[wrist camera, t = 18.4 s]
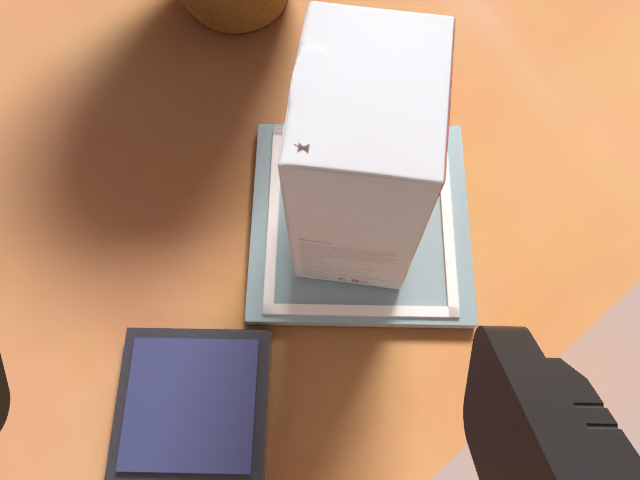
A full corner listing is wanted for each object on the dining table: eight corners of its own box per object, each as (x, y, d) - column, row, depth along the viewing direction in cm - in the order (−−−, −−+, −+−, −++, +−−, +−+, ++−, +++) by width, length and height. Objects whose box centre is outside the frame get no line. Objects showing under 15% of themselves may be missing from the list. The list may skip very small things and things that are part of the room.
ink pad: (110, 483, 29) (101, 484, 28) (132, 331, 32) (125, 326, 31) (264, 487, 29) (261, 487, 28) (272, 333, 32) (270, 328, 31)
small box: (401, 292, 32) (447, 186, 20) (291, 278, 33) (271, 166, 21) (412, 168, 35) (458, 12, 23) (311, 156, 36) (304, -4, 24)
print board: (246, 324, 33) (244, 320, 32) (259, 130, 37) (258, 121, 36) (474, 328, 32) (478, 324, 31) (458, 132, 37) (461, 124, 36)
